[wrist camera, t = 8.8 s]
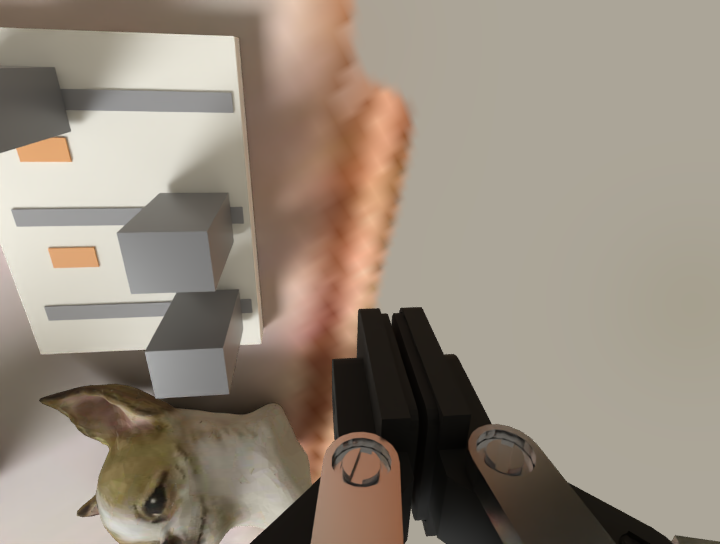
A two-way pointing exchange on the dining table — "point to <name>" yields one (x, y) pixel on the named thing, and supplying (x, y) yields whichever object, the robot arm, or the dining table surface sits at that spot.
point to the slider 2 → (177, 243)
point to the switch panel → (121, 178)
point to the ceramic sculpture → (184, 465)
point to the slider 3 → (196, 345)
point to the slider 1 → (30, 106)
